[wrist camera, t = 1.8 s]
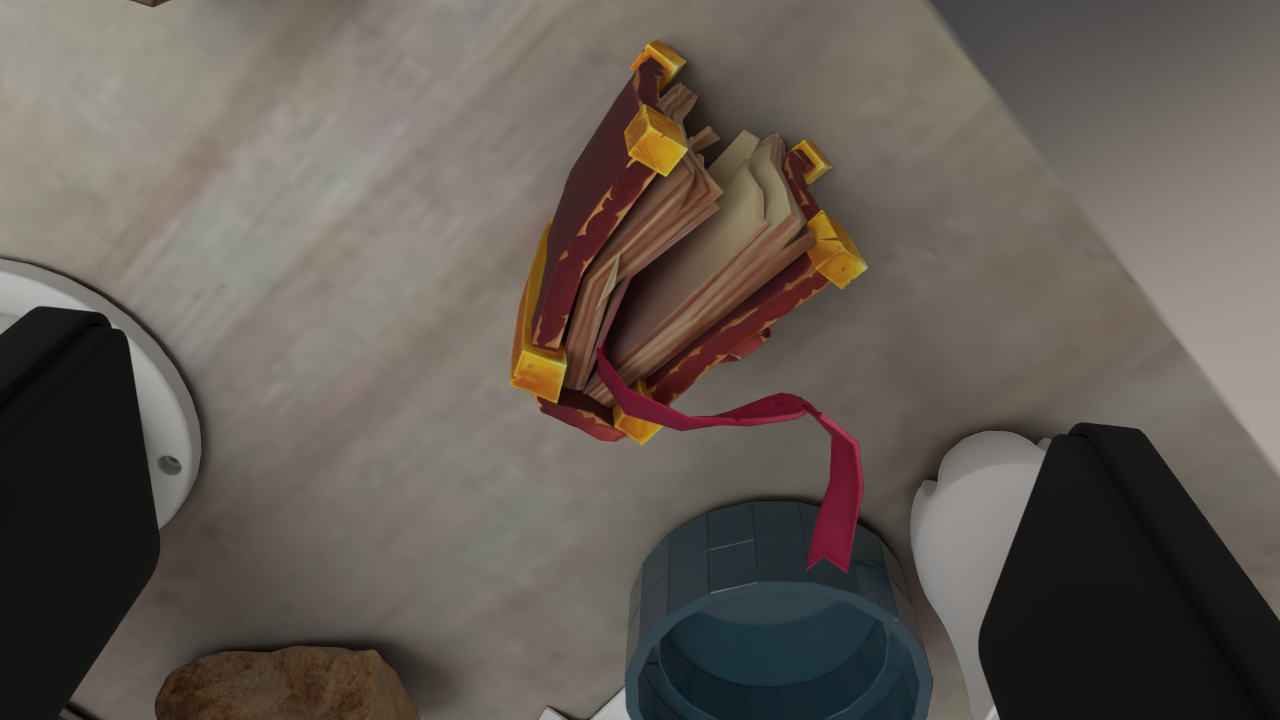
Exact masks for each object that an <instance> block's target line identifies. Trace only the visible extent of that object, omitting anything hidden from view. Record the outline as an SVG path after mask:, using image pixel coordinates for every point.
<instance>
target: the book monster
mask: <svg viewBox="0 0 1280 720" xmlns="http://www.w3.org/2000/svg"><path fill="white" fill-rule="evenodd" d="M686 62H687V61H686V60H684V59H683V58H682V57H680V56H679V55H678V54H677V53H675V52H674V51H673V50H672V49H670V48H669V47H668V46H666V45H665V44H664V43H663V42H661V41H660V40H659V39H657V40H655V41H653V42H651V43H649V44H647V46H646V47H645V49H644V50H643V51H642V53H641V54H640V55H639V57H638V58H637V60H636V61H635V62H634V64H633V65H632V66H631V68H630V69H631V70H633V71H634V72H635V73H634V75H633V76H632V78H631V79H630V80H629V82H628V83H627V85H626V86H625V88H624V89H623V90H622V92H621V93H620V95H619V96H618V97H617V99H616V101H615V102H614V104H613V105H612V107H611V108H610V110H609V112H608V113H607V115H606V116H605V118H604V119H603V121H602V123H601V124H600V126H599V127H598V129H597V130H596V132H595V134H594V135H593V137H592V138H591V140H590V142H589V143H588V145H587V146H586V148H585V149H584V151H583V153H582V154H581V156H580V157H579V159H578V160H577V162H576V164H575V165H574V167H573V168H572V170H571V172H570V175H569V177H568V180H567V182H566V185H565V188H564V192H563V195H562V197H561V200H560V203H559V206H558V209H557V211H556V214H555V217H554V220H552V219H551V220H550V221H549V223H548V225H547V227H546V229H545V230H544V232H543V234H542V237H541V240H540V243H539V246H538V249H537V252H536V255H535V259H534V262H533V265H532V268H531V271H530V274H529V277H528V280H527V283H526V286H525V289H524V293H523V296H522V299H521V302H520V305H519V309H518V316H517V323H516V330H515V337H514V344H513V351H512V359H511V380H510V386H513V387H516V388H520V389H523V390H527V391H530V392H531V394H532V396H533V397H534V399H535V401H536V403H537V405H538V406H539V408H540V410H541V412H542V413H545V414H547V415H550V416H552V417H554V418H556V419H558V420H560V421H562V422H564V423H566V424H568V425H571V426H574V427H576V428H579V429H581V430H583V431H584V432H586V433H588V434H590V435H591V436H593V437H595V438H596V439H598V440H601V441H613V442H615V441H618V440H621V439H624V438H628V437H632V438H633V439H634V440H636V441H637V442H638V443H639V444H640V445H643V444H644V443H645V442H646V441H648V440H649V439H650V438H651V437H652V436H653V435H654V434H655V433H656V432H658V431H659V430H660V429H661V428H662V427H663V426H666V427H669V428H672V429H676V430H679V431H686V430H692V429H699V428H705V427H711V426H718V425H730V426H755V425H762V424H768V423H775V422H781V421H788V420H794V419H797V418H799V417H801V416H803V415H805V414H806V411H807V412H808V413H809V414H811V415H812V416H814V417H815V418H816V420H817V421H818V422H819V423H820V424H821V425H822V426H823V427H824V428H825V429H826V430H827V431H828V433H829V434H830V435H831V436H832V439H831V465H830V482H829V485H828V488H827V491H826V494H825V497H824V500H823V503H822V506H821V509H820V512H819V515H818V518H817V521H816V524H815V528H814V533H813V539H812V544H811V549H810V554H809V559H808V564H807V569H806V571H807V570H808V569H810V568H811V567H812V566H813V565H815V564H816V563H817V562H818V561H820V560H821V559H822V558H823V557H825V558H826V559H827V560H829V561H830V562H831V563H833V564H834V565H836V566H837V567H838V568H840V569H841V570H842V571H844V572H845V573H846V574H847V572H848V567H849V561H850V555H851V549H852V543H853V537H854V532H855V527H856V523H857V518H858V513H859V509H860V504H861V499H862V495H863V490H864V483H863V475H862V466H861V458H860V450H859V443H858V442H857V441H856V440H855V439H853V438H852V437H851V436H850V435H849V434H848V433H846V432H845V431H844V430H843V429H842V428H841V427H839V426H838V425H837V424H836V423H835V422H834V421H832V420H831V419H830V418H828V417H827V416H826V415H824V414H823V413H821V412H819V411H818V410H817V409H815V408H814V407H813V406H812V405H811V404H810V403H809V402H807V401H806V400H804V399H803V398H801V397H798V396H796V395H793V394H787V393H779V394H775V395H771V396H767V397H765V398H762V399H760V400H757V401H755V402H752V403H750V404H747V405H745V406H742V407H739V408H737V409H734V410H732V411H728V412H725V413H721V414H718V415H714V416H695V417H688V416H686V415H684V414H682V413H680V412H678V411H676V410H673V409H671V408H670V404H671V403H672V402H673V401H674V400H675V399H676V398H678V397H679V396H680V395H681V394H682V393H683V392H684V391H685V390H687V389H688V388H689V387H690V386H691V385H692V384H693V383H695V382H696V381H697V380H698V379H699V378H700V377H701V376H702V375H704V374H705V373H706V372H707V371H709V370H710V369H711V368H712V367H713V366H715V365H716V364H717V363H724V362H730V361H736V360H741V359H743V358H744V357H745V356H747V355H748V354H750V353H751V352H752V351H754V350H755V349H757V348H758V347H760V346H761V345H762V344H764V343H765V342H767V341H768V340H770V339H771V338H772V336H773V333H774V332H773V330H772V327H771V324H772V323H774V322H775V321H777V320H778V319H780V318H781V317H783V316H784V315H786V314H787V313H788V312H790V311H791V310H793V309H794V308H796V307H797V306H799V305H800V304H802V303H803V302H805V301H806V300H808V299H809V298H811V297H812V296H813V295H815V294H816V293H818V292H819V291H820V290H822V289H823V288H825V287H826V286H827V285H829V284H830V283H832V282H833V283H834V284H835V285H837V286H838V287H839V288H840V289H843V288H844V287H845V286H846V285H848V284H849V283H850V282H851V281H853V280H854V279H855V278H856V277H858V276H859V275H860V274H861V273H863V272H864V271H865V270H866V269H867V268H868V267H867V265H866V263H865V262H864V260H863V258H862V257H861V255H860V253H859V251H858V250H857V248H856V246H855V245H854V243H853V241H852V239H851V238H850V236H849V234H848V233H847V231H846V230H845V229H844V228H843V227H842V226H841V225H839V224H838V223H837V222H836V221H835V220H833V219H832V218H831V217H830V216H829V215H827V214H826V213H825V212H824V211H823V210H820V208H819V207H818V205H817V203H816V201H815V199H814V197H813V195H812V193H811V191H810V189H809V186H808V184H811V183H813V182H814V181H815V180H816V179H818V178H819V177H820V176H822V175H823V174H824V173H826V172H827V171H828V170H830V169H831V168H832V166H831V165H830V163H829V162H828V161H827V160H826V158H825V157H824V156H823V155H822V154H821V152H820V151H819V150H818V149H817V148H816V146H815V145H814V144H813V143H812V142H810V141H807V140H803V141H801V142H800V143H799V144H798V145H796V146H795V147H794V148H792V149H791V150H790V151H789V152H787V150H786V144H785V143H784V141H783V139H782V138H781V137H780V136H779V135H778V134H777V133H776V132H774V133H773V134H771V135H770V136H768V137H766V138H765V139H763V140H762V141H761V139H759V138H758V137H756V136H755V135H753V134H751V133H750V132H748V131H746V130H745V129H744V130H743V131H742V132H741V133H740V135H739V136H738V137H737V138H736V139H735V140H734V141H733V142H732V143H731V144H730V145H729V146H728V148H727V149H726V150H725V151H724V152H723V153H722V154H721V155H720V156H719V157H718V158H717V159H716V161H715V162H714V163H713V164H712V165H711V166H710V167H709V168H708V169H707V170H705V169H704V156H702V155H701V154H700V153H699V154H696V155H694V153H696V152H698V151H700V150H701V149H703V148H705V147H707V146H709V145H710V144H712V143H714V142H716V141H717V140H719V139H720V137H719V136H718V135H717V134H716V133H715V132H714V131H713V130H712V129H711V128H710V126H707V127H706V128H705V129H703V130H702V131H701V132H699V133H698V134H697V135H695V136H694V137H692V136H691V137H690V138H689V139H687V136H686V133H685V130H684V127H683V123H682V120H683V119H684V118H685V117H686V115H687V114H688V113H689V111H690V110H691V109H692V107H693V105H694V103H695V102H696V100H697V98H698V96H697V95H696V94H695V93H693V92H692V91H691V90H690V89H688V88H687V87H686V86H685V85H683V84H682V81H681V82H680V81H678V82H677V83H676V84H675V85H674V86H673V87H672V88H671V89H670V90H669V91H668V92H667V93H666V94H665V95H664V96H663V97H662V98H661V99H660V97H659V93H658V90H659V91H661V90H662V89H663V88H665V87H666V86H667V85H668V84H669V83H670V82H671V80H672V79H673V78H674V77H675V76H676V74H677V73H678V72H679V71H680V70H681V68H682V67H683V66H684V65H685V63H686Z"/></svg>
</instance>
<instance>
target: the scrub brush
mask: <svg viewBox="0 0 1280 720" xmlns="http://www.w3.org/2000/svg"><path fill="white" fill-rule="evenodd" d="M130 1H134V2H137V3H140V4H143V5H147V6H150V7H155V6H158V5H160V4H163V3H165V2H167V1H170V0H130Z"/></svg>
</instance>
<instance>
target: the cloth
mask: <svg viewBox="0 0 1280 720" xmlns="http://www.w3.org/2000/svg"><path fill="white" fill-rule="evenodd" d="M538 720H568V719H566V718H565V717H563V716H562V715H560V714H559V713H557V712H556V711H554V710H553V709H551V708H550V707H548V706H547V707H546V709H545V710H544V712H543V713H542V715H541V716H540V718H539V719H538ZM590 720H631V719H630V717H629V715H628V713H627V711H626V699H625V687H624V688H623V689H622V690H621V691H620V692H619V693H618V694H617V695H615V696H614V697H613V698H612V699H611V700H610V701H609V702H608V703H607V704H606V705H605V706H604V707H603V708H602V709H601V710H600V711H599V712H598V713H597V714H595V715H594V716H593V717H592V718H591V719H590Z"/></svg>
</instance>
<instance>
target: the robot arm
mask: <svg viewBox="0 0 1280 720" xmlns="http://www.w3.org/2000/svg"><path fill="white" fill-rule="evenodd" d="M201 452H202V449H201V436H200V424H199V421H198V417H197V414H196V411H195V408H194V404H193V401H192V398H191V395H190V394H189V392H188V390H187V388H186V386H185V384H184V382H183V380H182V378H181V376H180V374H179V373H178V371H177V369H176V368H175V366H174V365H173V364H172V362H171V361H170V360H169V358H168V357H167V356H166V354H165V353H164V352H163V350H162V349H161V348H160V347H159V345H158V344H157V343H156V342H155V341H154V340H153V339H152V338H151V337H150V336H149V335H148V334H147V333H146V332H145V331H144V330H143V329H142V328H141V327H140V326H139V325H138V324H137V323H136V322H135V321H134V320H133V319H132V318H131V317H129V316H128V315H127V314H125V313H124V312H123V311H121V310H120V309H118V308H117V307H116V306H114V305H113V304H111V303H110V302H109V301H107V300H106V299H105V298H103V297H102V296H100V295H99V294H97V293H95V292H93V291H91V290H89V289H87V288H86V287H84V286H82V285H80V284H78V283H76V282H74V281H72V280H70V279H69V278H67V277H64V276H61V275H59V274H56V273H53V272H50V271H48V270H45V269H42V268H39V267H36V266H34V265H31V264H26V263H21V262H16V261H11V260H6V259H1V258H0V720H56V719H57V717H58V716H59V714H60V713H61V711H62V710H63V708H64V707H65V705H66V704H67V702H68V701H69V699H70V698H71V696H72V695H73V693H74V692H75V690H76V689H77V687H78V686H79V684H80V683H81V681H82V680H83V678H84V677H85V675H86V674H87V672H88V671H89V669H90V668H91V666H92V665H93V663H94V662H95V660H96V659H97V657H98V656H99V654H100V653H101V651H102V650H103V648H104V647H105V645H106V644H107V642H108V641H109V639H110V638H111V636H112V635H113V633H114V632H115V630H116V629H117V627H118V626H119V624H120V623H121V621H122V620H123V618H124V617H125V615H126V614H127V612H128V611H129V609H130V608H131V606H132V605H133V603H134V602H135V600H136V599H137V597H138V596H139V594H140V593H141V591H142V590H143V588H144V587H145V585H146V584H147V582H148V581H149V579H150V578H151V576H152V574H153V573H154V571H155V568H156V565H157V562H158V558H159V554H160V534H159V530H160V529H161V528H162V527H163V526H164V525H166V524H167V523H168V522H169V521H170V520H171V519H172V518H173V516H174V515H175V514H176V512H177V511H178V509H179V508H180V507H181V505H182V504H183V502H184V501H185V500H186V498H187V497H188V495H189V493H190V490H191V488H192V486H193V484H194V482H195V480H196V477H197V475H198V470H199V464H200V458H201ZM978 653H979V660H980V664H981V667H982V670H983V673H984V676H985V678H986V681H987V684H988V687H989V690H990V693H991V696H992V699H993V702H994V704H995V707H996V710H997V713H998V716H999V719H1000V720H1280V621H1279V619H1278V618H1277V616H1276V615H1275V614H1274V612H1273V611H1272V610H1271V608H1270V607H1269V605H1268V604H1267V603H1266V601H1265V600H1264V598H1263V597H1262V596H1261V594H1260V593H1259V592H1258V590H1257V589H1256V587H1255V586H1254V585H1253V583H1252V582H1251V580H1250V579H1249V578H1248V576H1247V575H1246V574H1245V572H1244V571H1243V569H1242V568H1241V567H1240V565H1239V564H1238V562H1237V561H1236V560H1235V558H1234V557H1233V556H1232V554H1231V553H1230V551H1229V550H1228V549H1227V547H1226V546H1225V544H1224V543H1223V542H1222V540H1221V539H1220V538H1219V536H1218V535H1217V533H1216V532H1215V531H1214V529H1213V528H1212V526H1211V525H1210V524H1209V522H1208V521H1207V520H1206V518H1205V517H1204V515H1203V514H1202V513H1201V511H1200V510H1199V509H1198V507H1197V506H1196V504H1195V503H1194V502H1193V500H1192V499H1191V497H1190V496H1189V495H1188V493H1187V492H1186V491H1185V489H1184V488H1183V486H1182V485H1181V484H1180V482H1179V481H1178V479H1177V478H1176V477H1175V475H1174V474H1173V473H1172V471H1171V470H1170V468H1169V467H1168V466H1167V464H1166V463H1165V461H1164V460H1163V459H1162V457H1161V456H1160V455H1159V453H1158V452H1157V450H1156V449H1155V448H1154V446H1153V445H1152V443H1151V442H1150V441H1149V439H1148V438H1147V437H1146V435H1145V434H1144V433H1143V432H1142V431H1140V430H1139V429H1135V428H1128V427H1119V426H1110V425H1101V424H1093V423H1084V422H1081V423H1078V424H1076V425H1075V426H1074V427H1073V428H1072V429H1071V430H1070V431H1069V433H1068V435H1065V434H1059V435H1057V436H1055V437H1054V438H1053V439H1052V441H1051V443H1050V445H1049V447H1048V449H1047V452H1046V454H1045V457H1044V460H1043V462H1042V465H1041V468H1040V470H1039V473H1038V476H1037V478H1036V481H1035V484H1034V486H1033V489H1032V491H1031V494H1030V497H1029V499H1028V502H1027V505H1026V507H1025V510H1024V513H1023V515H1022V518H1021V521H1020V523H1019V526H1018V529H1017V531H1016V534H1015V537H1014V539H1013V542H1012V545H1011V547H1010V550H1009V553H1008V555H1007V558H1006V560H1005V563H1004V566H1003V568H1002V571H1001V574H1000V576H999V579H998V582H997V584H996V587H995V590H994V592H993V595H992V598H991V600H990V603H989V606H988V608H987V611H986V614H985V616H984V619H983V622H982V624H981V628H980V631H979V638H978Z"/></svg>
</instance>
